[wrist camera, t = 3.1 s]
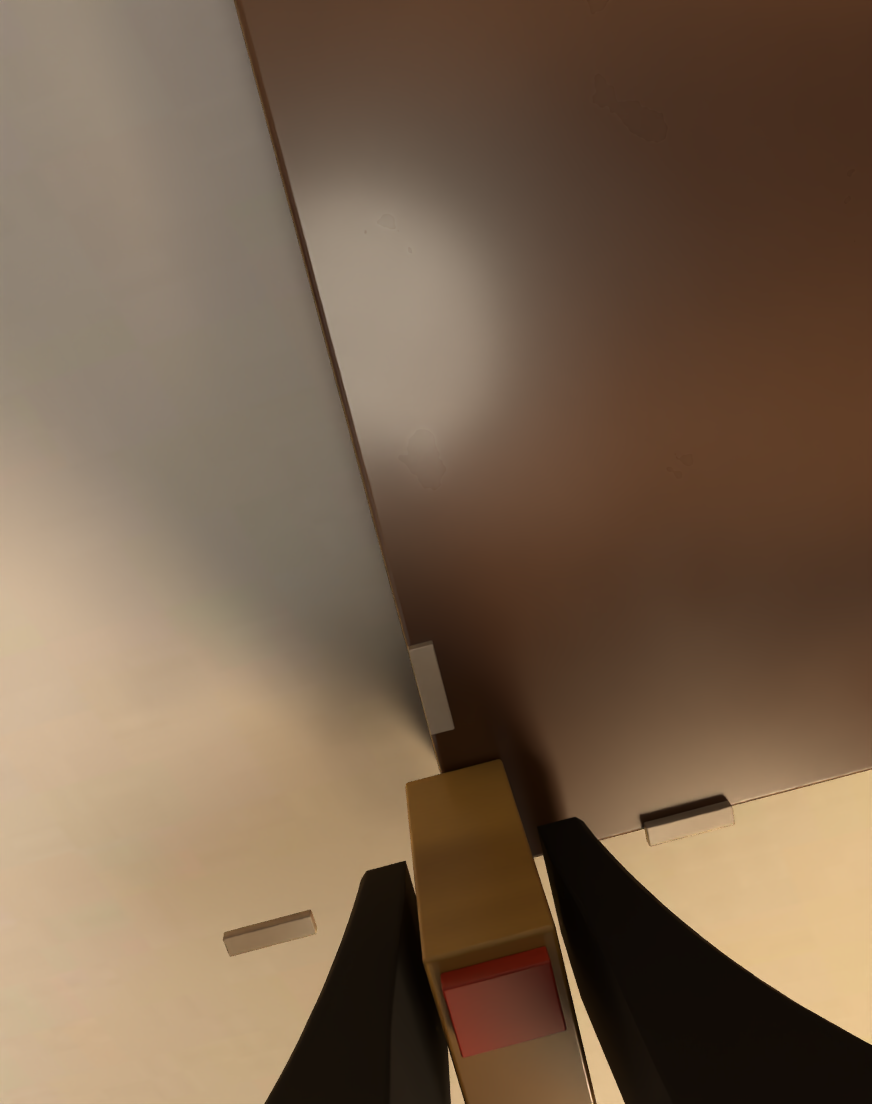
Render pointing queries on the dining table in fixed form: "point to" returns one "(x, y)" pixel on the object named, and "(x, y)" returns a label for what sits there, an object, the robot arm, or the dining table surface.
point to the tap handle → (492, 944)
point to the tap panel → (601, 379)
